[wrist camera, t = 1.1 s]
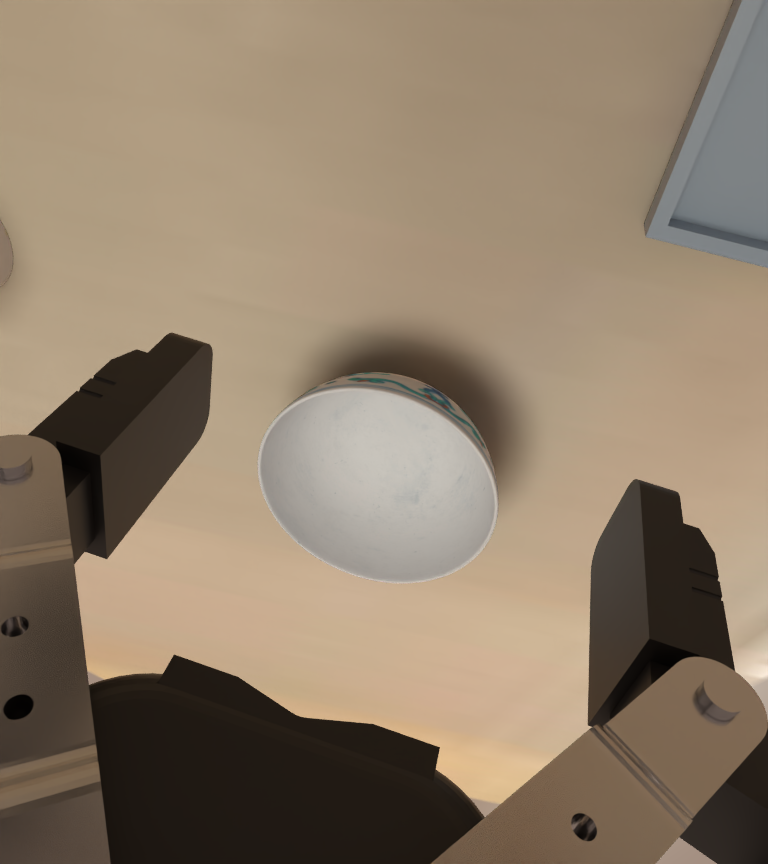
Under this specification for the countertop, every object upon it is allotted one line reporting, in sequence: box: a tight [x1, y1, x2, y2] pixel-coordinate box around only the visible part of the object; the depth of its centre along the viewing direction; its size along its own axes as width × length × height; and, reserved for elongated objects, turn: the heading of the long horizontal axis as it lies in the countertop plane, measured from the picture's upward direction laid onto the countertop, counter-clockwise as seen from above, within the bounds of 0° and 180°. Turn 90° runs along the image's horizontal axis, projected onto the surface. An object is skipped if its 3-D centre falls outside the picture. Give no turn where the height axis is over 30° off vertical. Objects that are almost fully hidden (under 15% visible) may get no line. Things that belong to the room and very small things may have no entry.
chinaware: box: [258, 372, 499, 583], centre depth 47 cm, size 15×15×8 cm
